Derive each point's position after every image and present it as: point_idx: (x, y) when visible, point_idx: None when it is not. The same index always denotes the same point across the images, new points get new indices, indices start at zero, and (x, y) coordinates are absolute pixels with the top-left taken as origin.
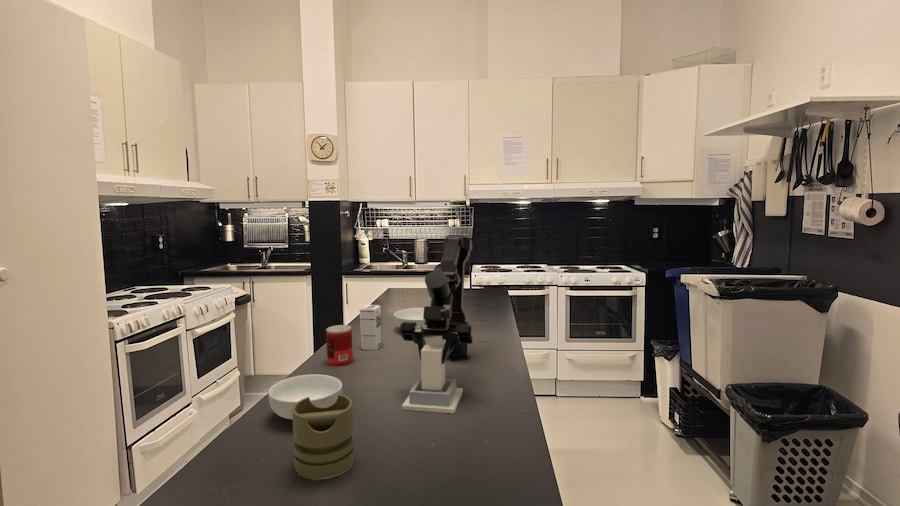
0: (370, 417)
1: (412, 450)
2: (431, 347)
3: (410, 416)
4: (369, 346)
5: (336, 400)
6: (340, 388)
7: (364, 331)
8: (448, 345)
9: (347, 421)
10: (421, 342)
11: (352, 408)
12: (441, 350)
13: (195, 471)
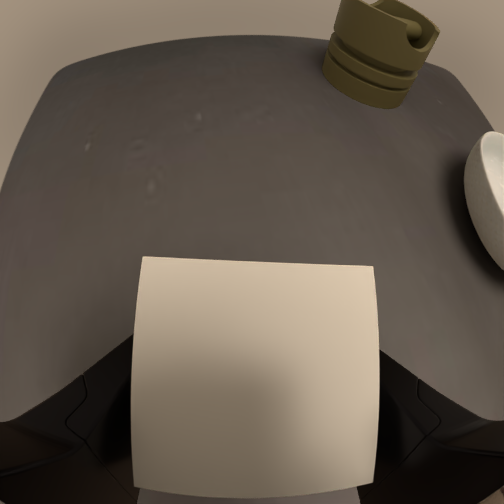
0: (392, 218)
1: (238, 98)
2: (282, 400)
3: (289, 233)
4: None
5: (405, 35)
6: (493, 192)
7: None
8: (59, 401)
9: (340, 4)
10: (429, 422)
11: (349, 3)
12: (137, 306)
13: (467, 97)
